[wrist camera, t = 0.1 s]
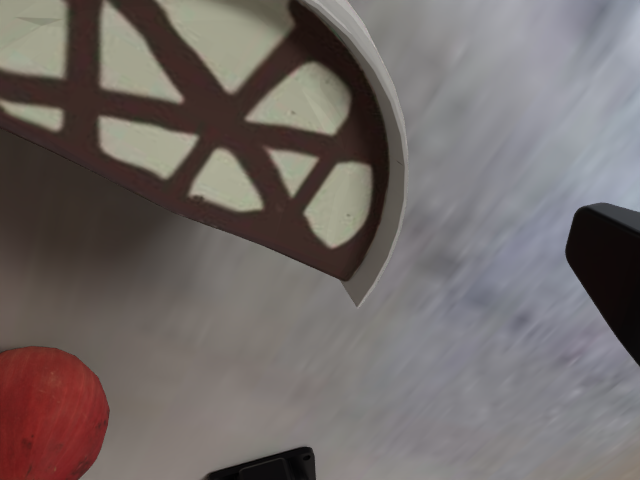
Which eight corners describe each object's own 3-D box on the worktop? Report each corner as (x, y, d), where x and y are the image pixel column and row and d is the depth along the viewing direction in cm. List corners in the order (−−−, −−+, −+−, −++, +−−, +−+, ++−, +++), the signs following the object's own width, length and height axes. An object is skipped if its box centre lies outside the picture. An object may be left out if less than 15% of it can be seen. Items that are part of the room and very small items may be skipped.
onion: (134, 339, 26) (142, 493, 20) (59, 415, 28) (45, 583, 21) (14, 284, 23) (-22, 448, 17) (-65, 373, 24) (-127, 557, 18)
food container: (375, 30, 22) (527, 133, 14) (285, 158, 23) (373, 314, 16) (47, -233, 15) (-24, -324, 7) (-42, -25, 17) (-176, 85, 9)
